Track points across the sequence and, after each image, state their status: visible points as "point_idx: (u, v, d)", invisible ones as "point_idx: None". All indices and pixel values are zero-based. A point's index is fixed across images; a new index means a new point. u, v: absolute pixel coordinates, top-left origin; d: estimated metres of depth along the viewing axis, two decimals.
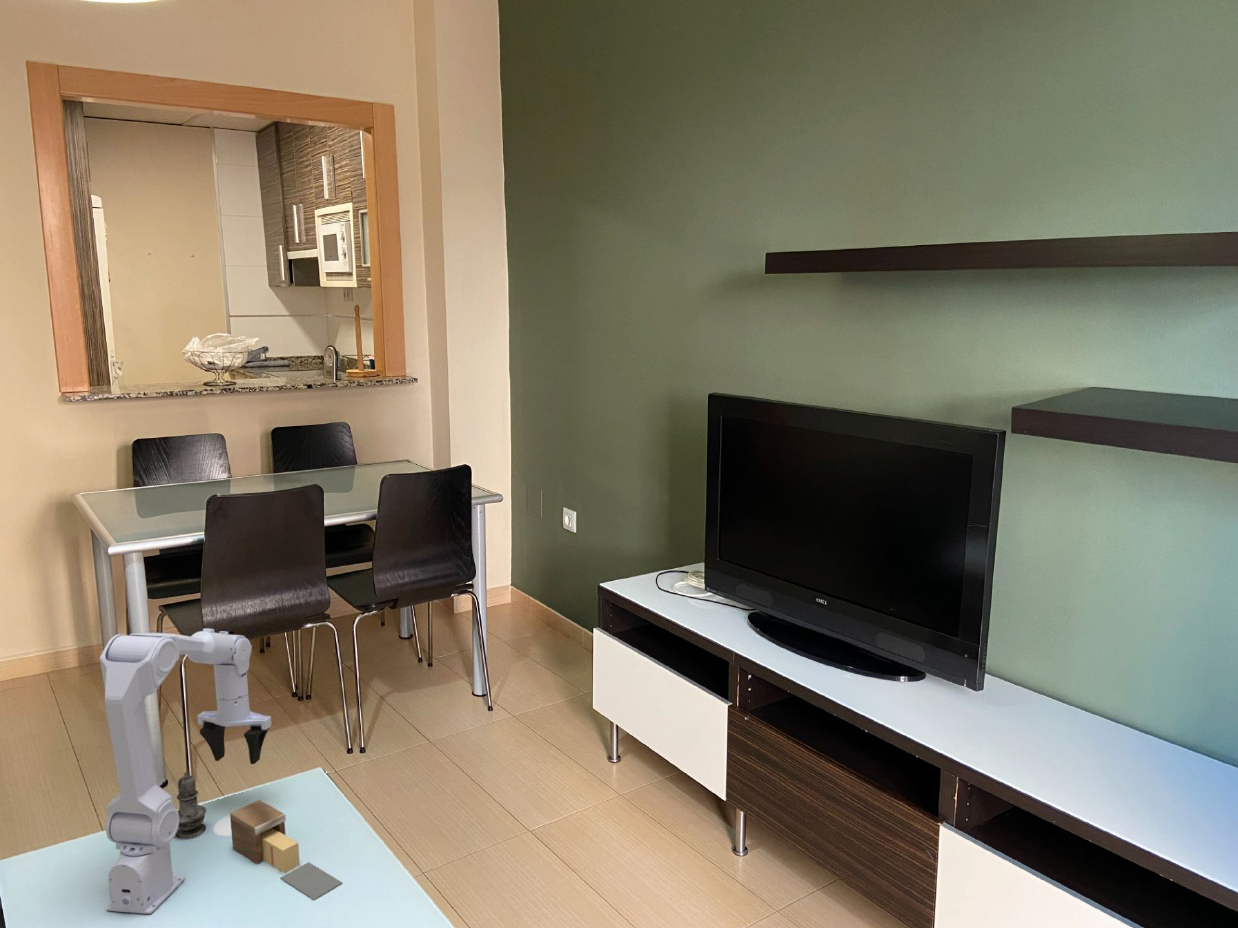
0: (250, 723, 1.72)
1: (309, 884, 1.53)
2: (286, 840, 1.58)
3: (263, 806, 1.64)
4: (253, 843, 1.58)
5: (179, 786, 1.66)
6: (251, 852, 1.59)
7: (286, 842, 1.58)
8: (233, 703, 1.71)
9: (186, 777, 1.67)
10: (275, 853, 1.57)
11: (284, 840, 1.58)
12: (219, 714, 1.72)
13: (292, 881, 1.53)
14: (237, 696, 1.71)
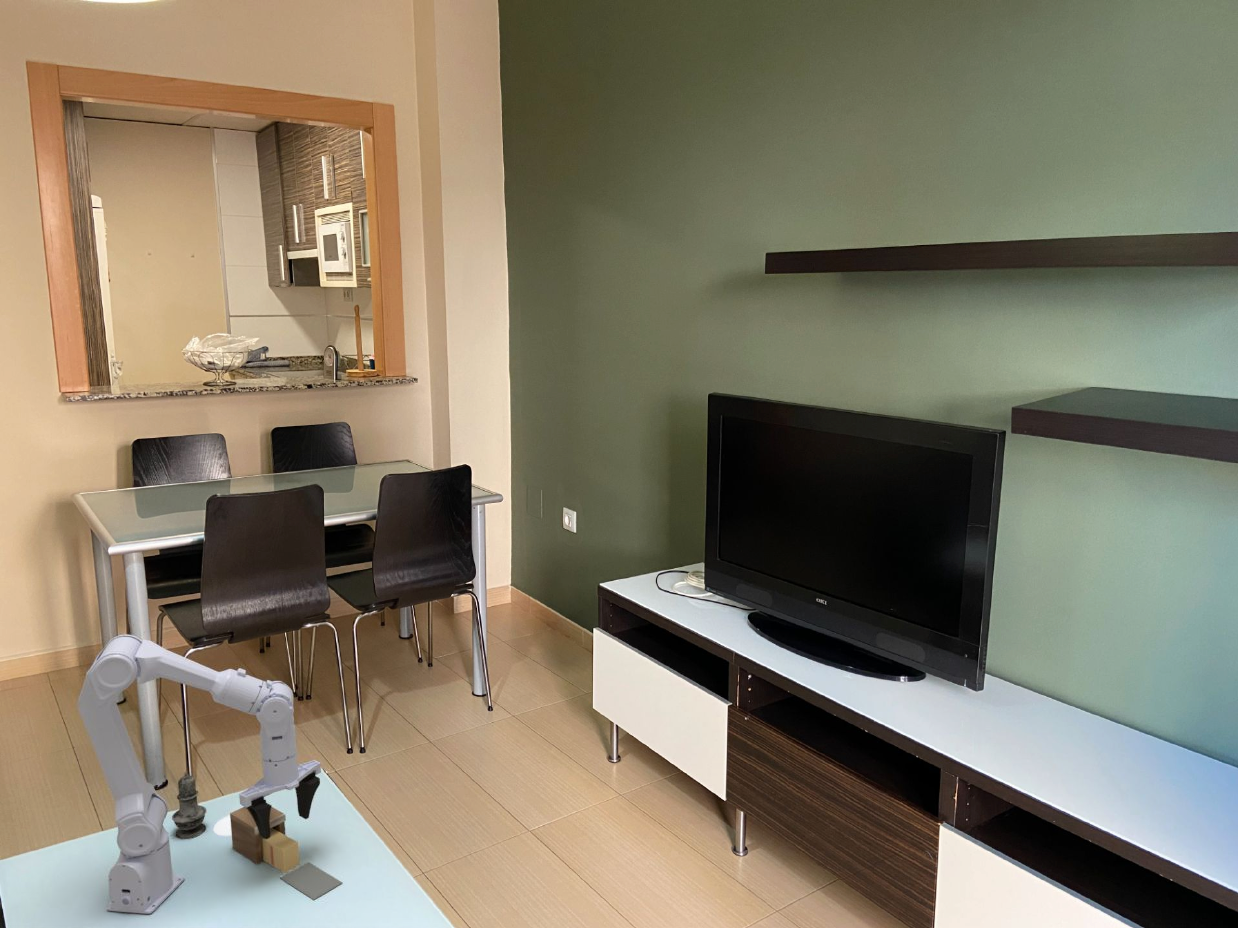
0: None
1: (309, 884, 1.53)
2: (286, 840, 1.58)
3: None
4: (253, 843, 1.58)
5: (179, 786, 1.66)
6: (251, 852, 1.59)
7: (286, 842, 1.58)
8: None
9: (186, 777, 1.67)
10: (275, 853, 1.57)
11: (284, 840, 1.58)
12: None
13: (292, 881, 1.53)
14: (267, 758, 1.52)
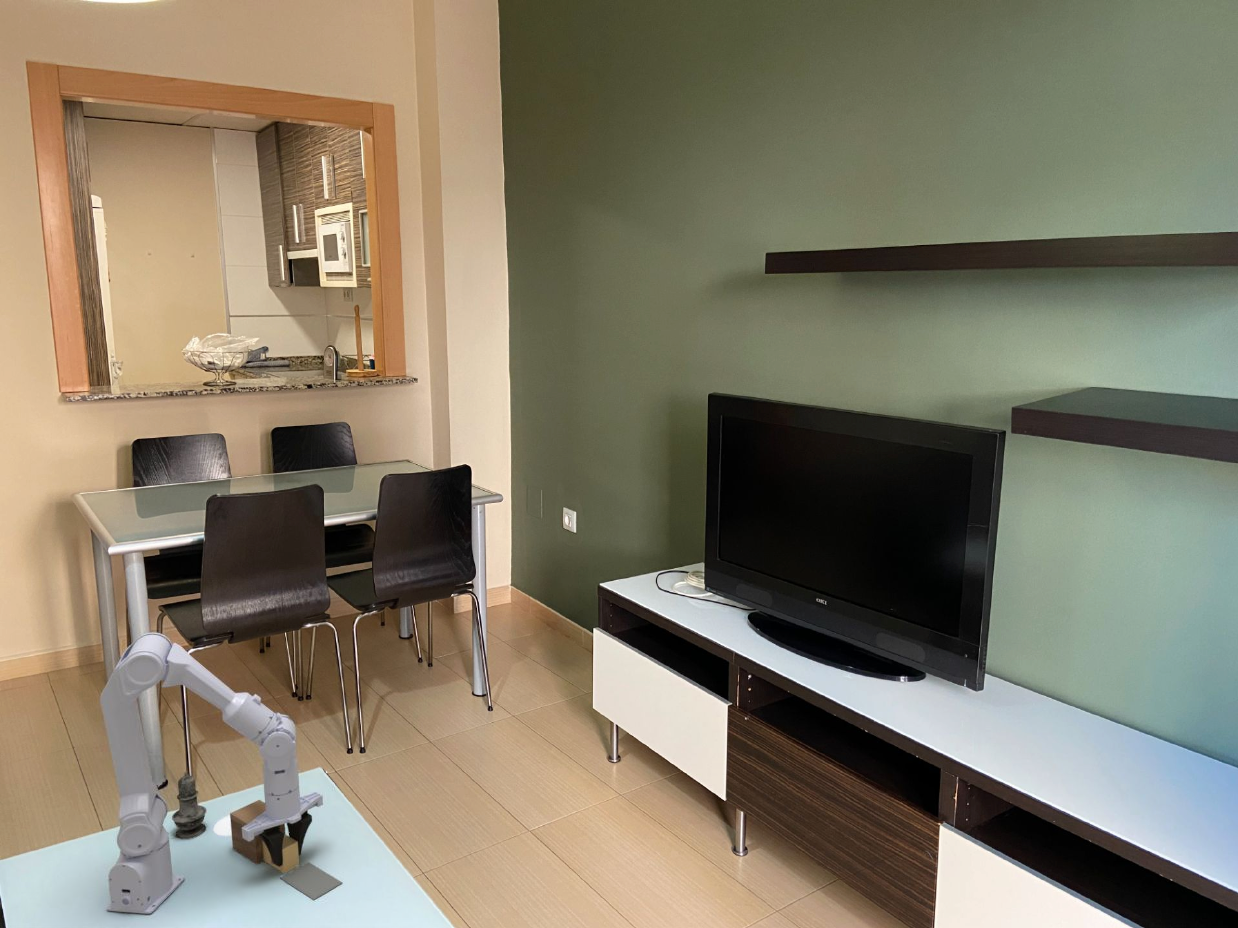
0: None
1: (309, 884, 1.53)
2: (286, 839, 1.58)
3: (263, 806, 1.64)
4: (253, 843, 1.58)
5: (179, 786, 1.66)
6: (251, 852, 1.59)
7: (286, 841, 1.58)
8: None
9: (186, 777, 1.67)
10: None
11: (283, 839, 1.58)
12: None
13: (292, 881, 1.53)
14: (270, 792, 1.53)
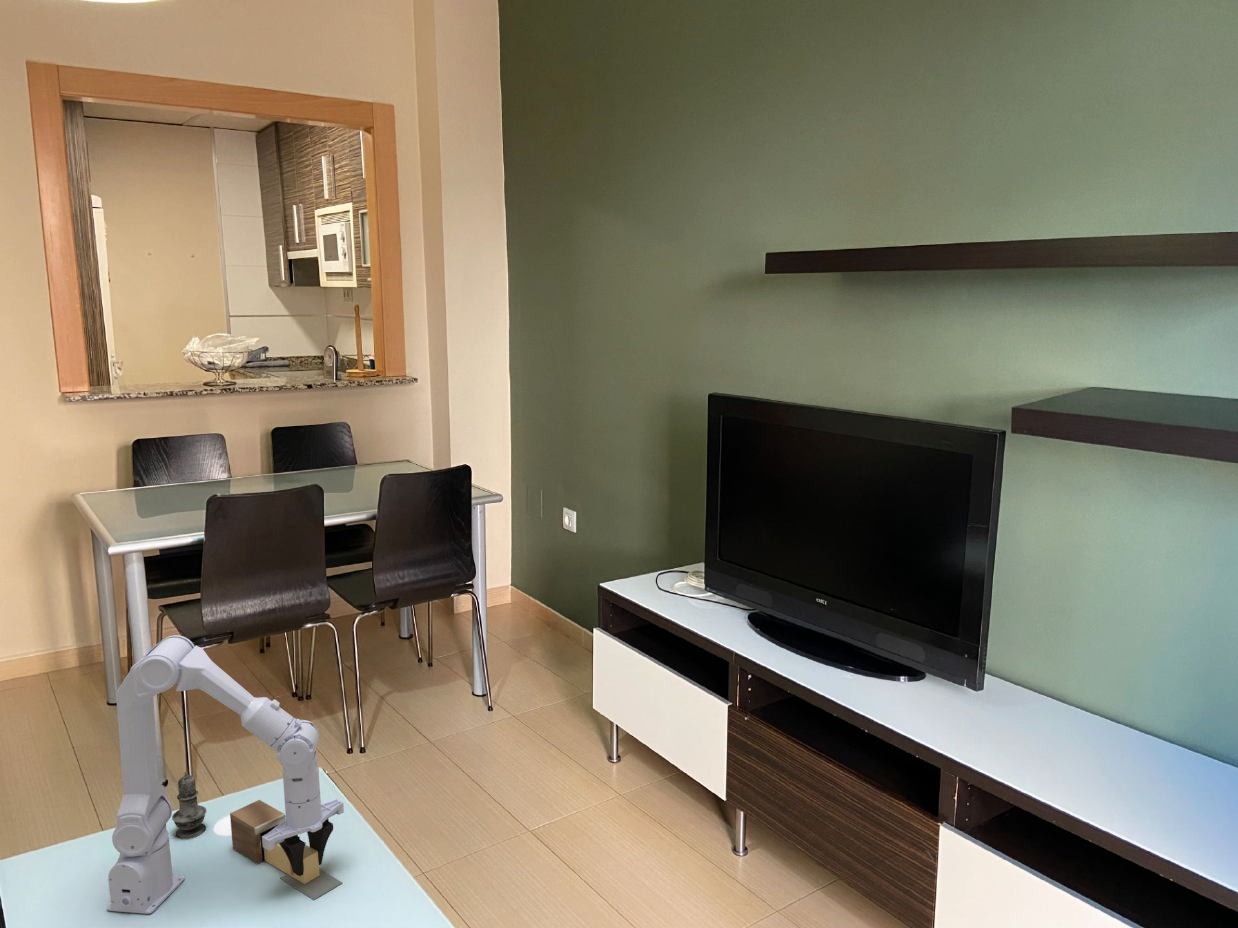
0: None
1: (309, 884, 1.53)
2: (306, 849, 1.55)
3: (263, 806, 1.64)
4: (253, 843, 1.58)
5: (179, 786, 1.66)
6: (251, 852, 1.59)
7: (305, 851, 1.54)
8: None
9: (186, 777, 1.67)
10: None
11: None
12: None
13: (292, 881, 1.53)
14: (288, 799, 1.49)
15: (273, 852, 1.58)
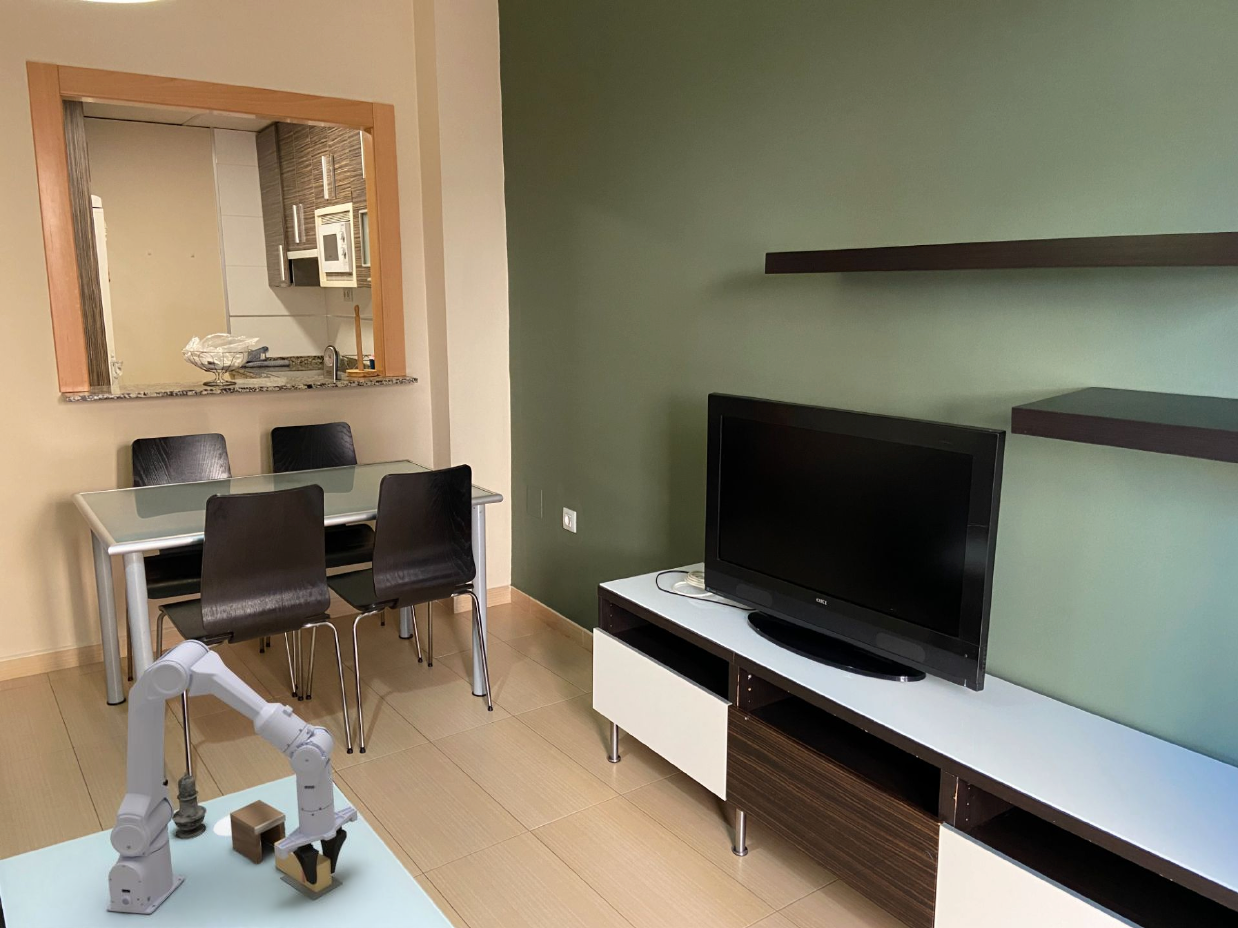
0: None
1: None
2: (318, 857, 1.52)
3: (263, 806, 1.64)
4: (253, 843, 1.58)
5: (179, 786, 1.66)
6: (251, 852, 1.59)
7: (318, 859, 1.52)
8: None
9: (186, 777, 1.67)
10: None
11: None
12: None
13: (292, 881, 1.53)
14: (300, 806, 1.47)
15: (284, 859, 1.55)
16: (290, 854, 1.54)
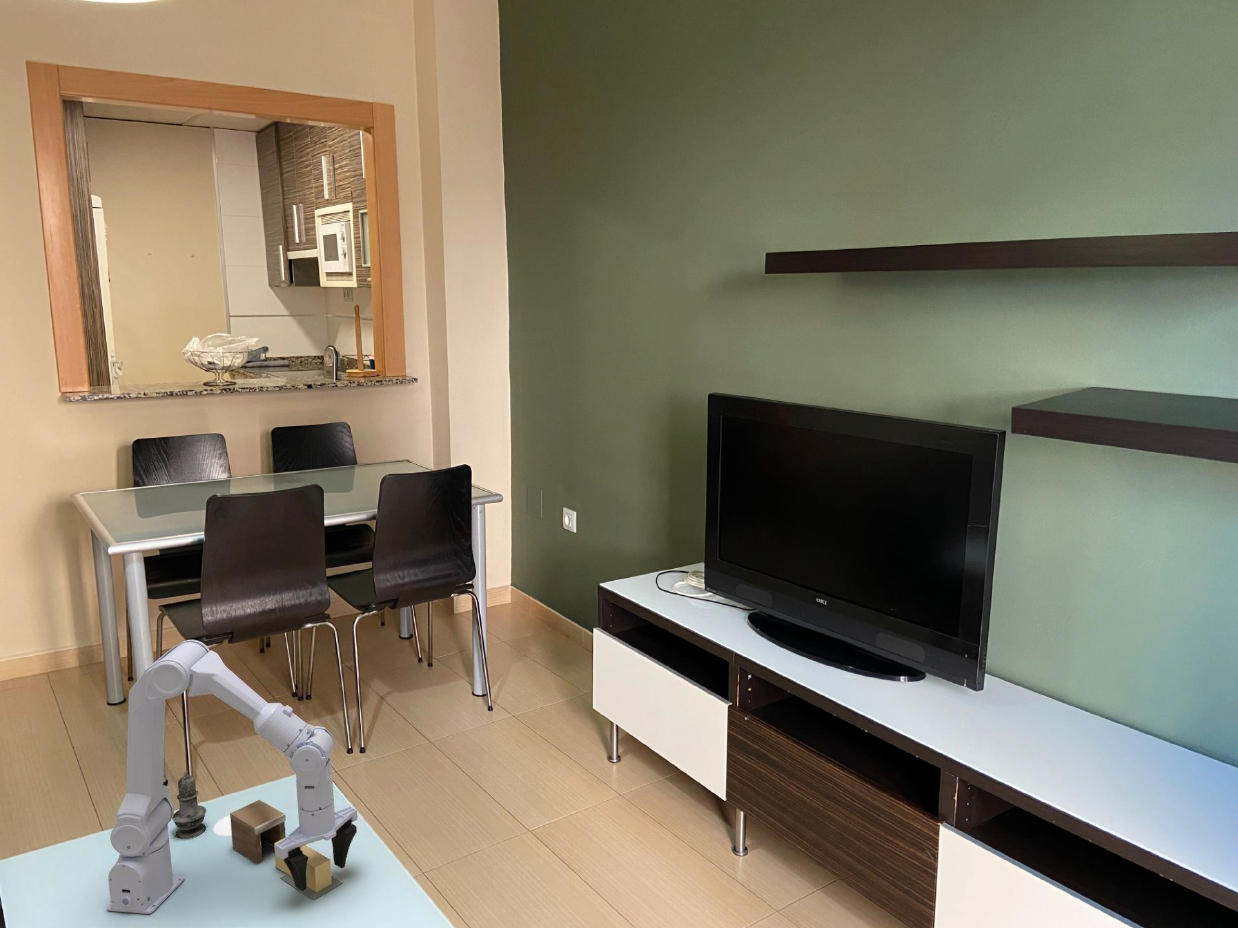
0: None
1: None
2: (318, 857, 1.52)
3: (263, 806, 1.64)
4: (253, 843, 1.58)
5: (179, 786, 1.66)
6: (251, 852, 1.59)
7: (318, 859, 1.52)
8: None
9: (186, 777, 1.67)
10: (306, 870, 1.51)
11: (315, 856, 1.53)
12: None
13: (292, 881, 1.53)
14: (300, 806, 1.47)
15: None
16: None
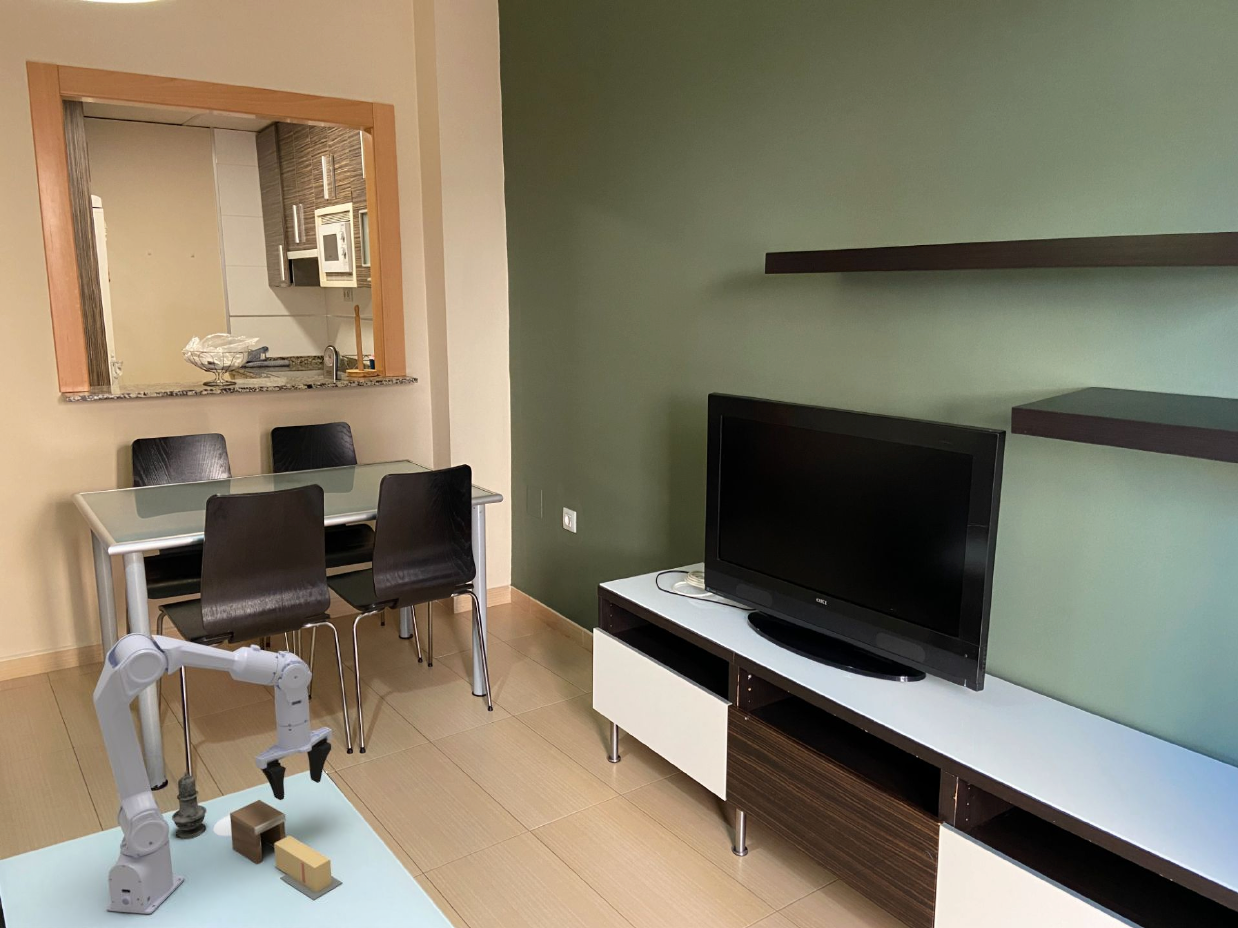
0: None
1: None
2: (318, 857, 1.52)
3: (263, 806, 1.64)
4: (253, 843, 1.58)
5: (179, 786, 1.66)
6: (251, 852, 1.59)
7: (318, 859, 1.52)
8: None
9: (186, 777, 1.67)
10: (306, 870, 1.51)
11: (315, 856, 1.53)
12: None
13: (292, 881, 1.53)
14: (287, 724, 1.60)
15: (284, 859, 1.55)
16: (290, 854, 1.54)
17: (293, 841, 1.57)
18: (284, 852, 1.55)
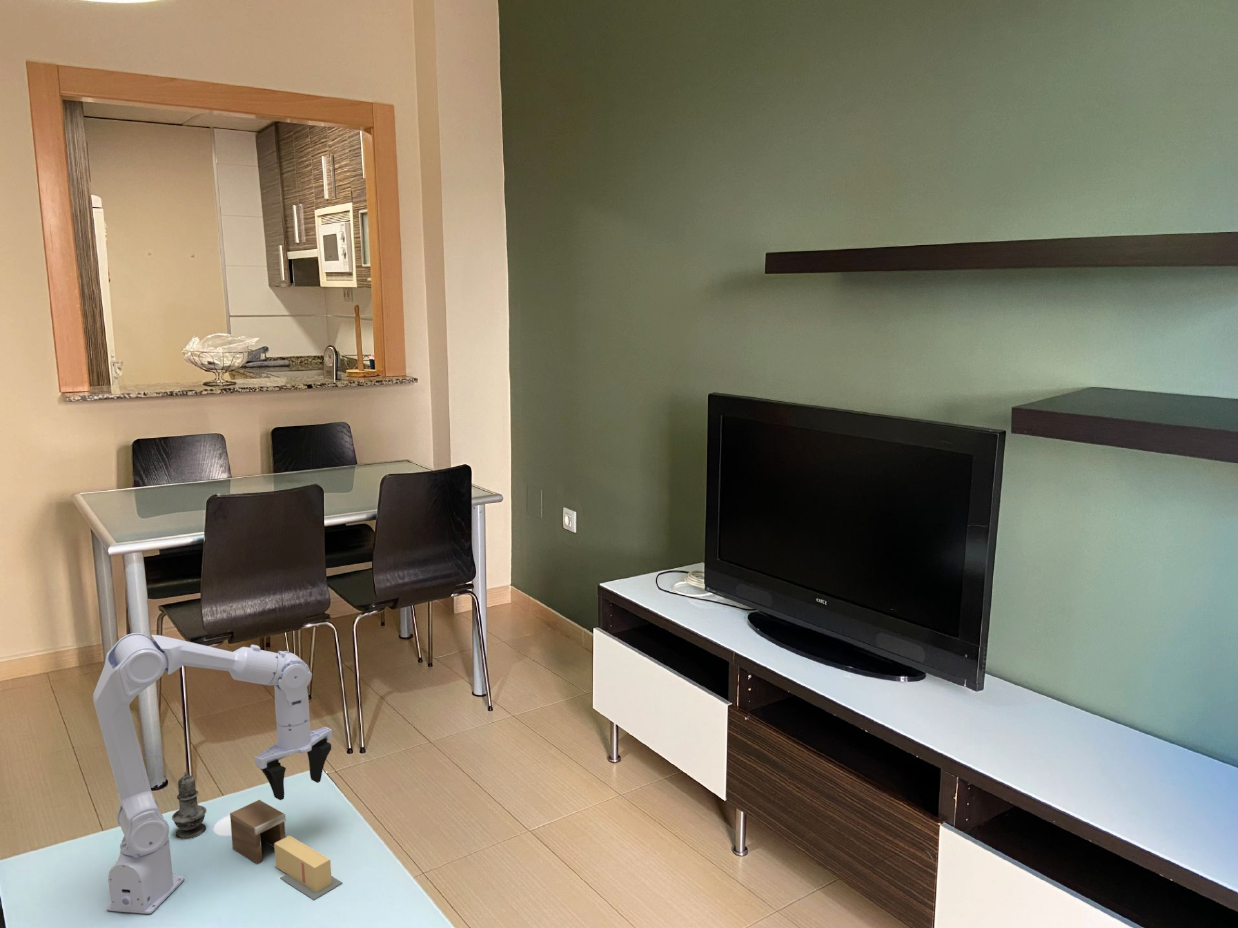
0: None
1: None
2: (318, 857, 1.52)
3: (263, 806, 1.64)
4: (253, 843, 1.58)
5: (179, 786, 1.66)
6: (251, 852, 1.59)
7: (318, 859, 1.52)
8: None
9: (186, 777, 1.67)
10: (306, 870, 1.51)
11: (315, 856, 1.53)
12: None
13: (292, 881, 1.53)
14: (287, 724, 1.60)
15: (284, 859, 1.55)
16: (290, 854, 1.54)
17: (293, 841, 1.57)
18: (284, 852, 1.55)
